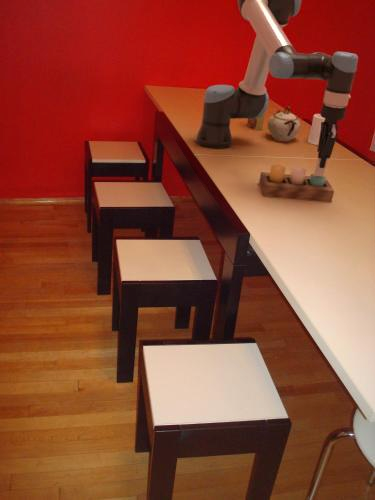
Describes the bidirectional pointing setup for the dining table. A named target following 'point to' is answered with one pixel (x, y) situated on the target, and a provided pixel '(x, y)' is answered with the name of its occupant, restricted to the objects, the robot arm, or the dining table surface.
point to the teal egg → (317, 180)
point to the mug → (315, 129)
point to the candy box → (256, 122)
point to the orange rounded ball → (277, 174)
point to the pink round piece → (297, 175)
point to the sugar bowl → (284, 125)
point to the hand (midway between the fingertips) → (318, 175)
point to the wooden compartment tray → (295, 189)
